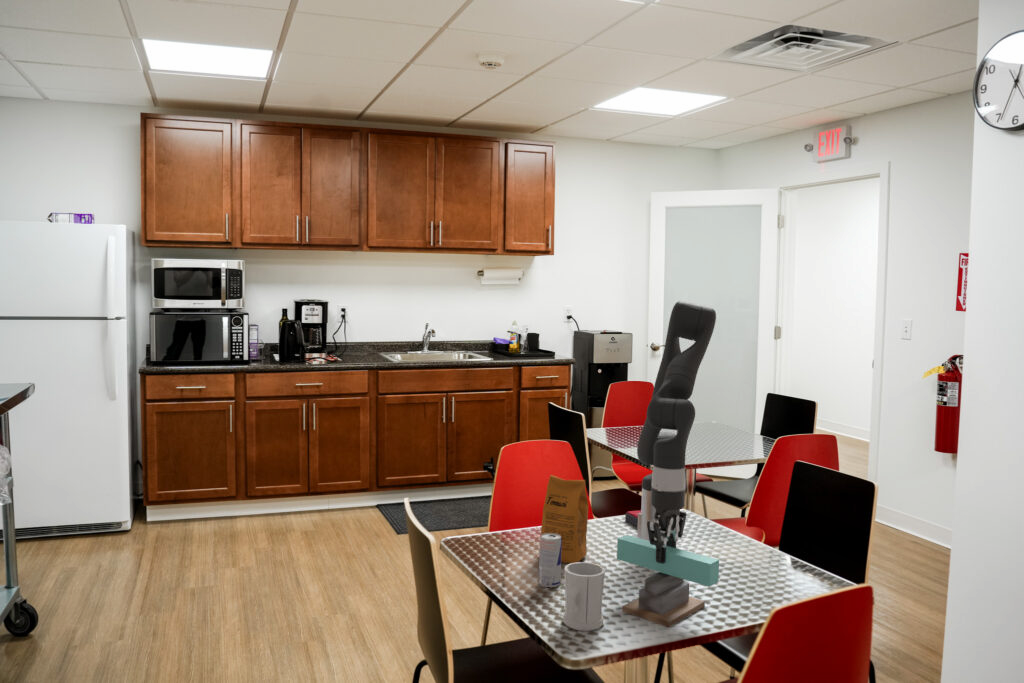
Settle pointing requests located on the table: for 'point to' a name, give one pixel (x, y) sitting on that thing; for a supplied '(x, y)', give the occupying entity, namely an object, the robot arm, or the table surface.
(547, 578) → the energy drink
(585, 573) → the cup
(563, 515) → the coffee package
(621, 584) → the table surface
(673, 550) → the teal bar
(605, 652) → the table surface
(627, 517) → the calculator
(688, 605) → the ridge block
